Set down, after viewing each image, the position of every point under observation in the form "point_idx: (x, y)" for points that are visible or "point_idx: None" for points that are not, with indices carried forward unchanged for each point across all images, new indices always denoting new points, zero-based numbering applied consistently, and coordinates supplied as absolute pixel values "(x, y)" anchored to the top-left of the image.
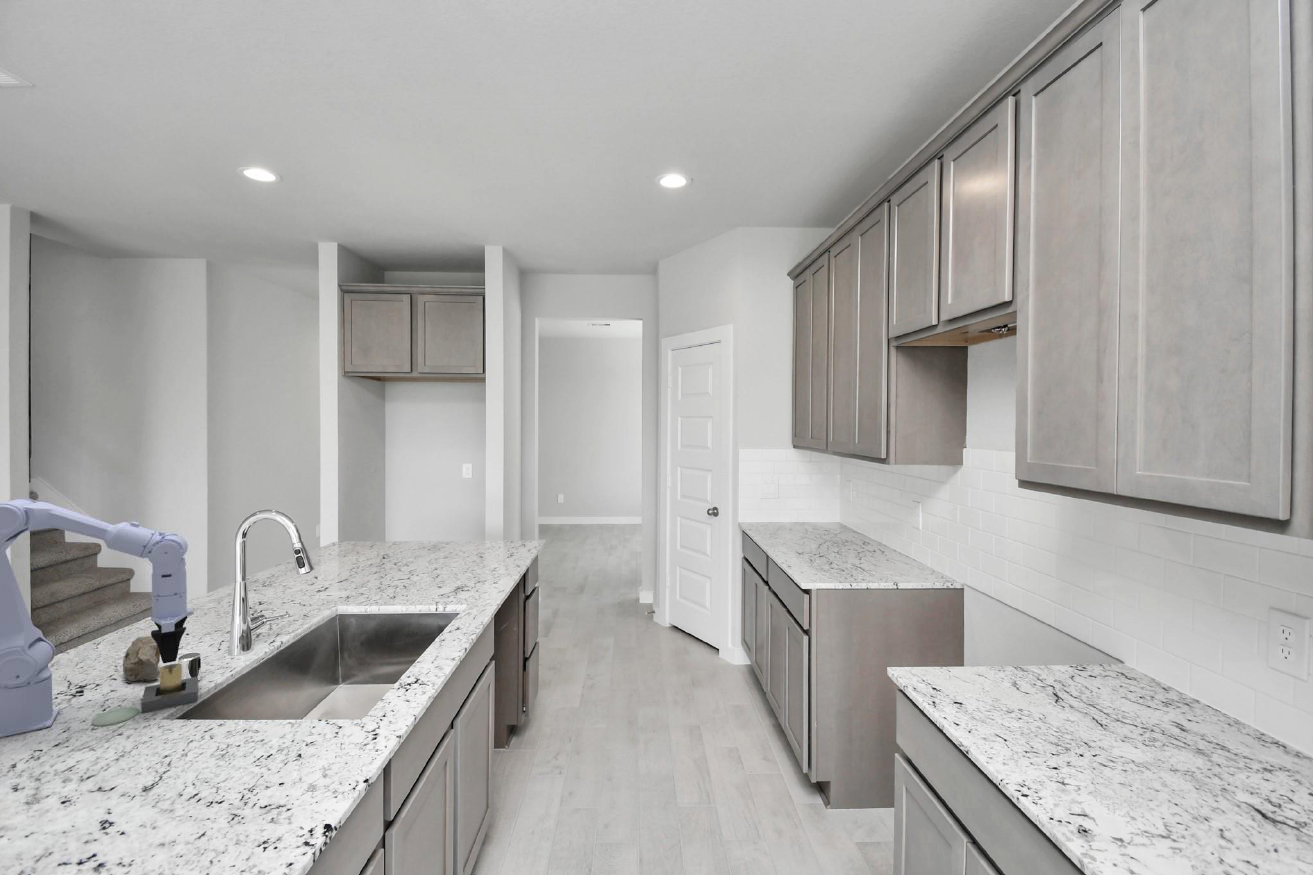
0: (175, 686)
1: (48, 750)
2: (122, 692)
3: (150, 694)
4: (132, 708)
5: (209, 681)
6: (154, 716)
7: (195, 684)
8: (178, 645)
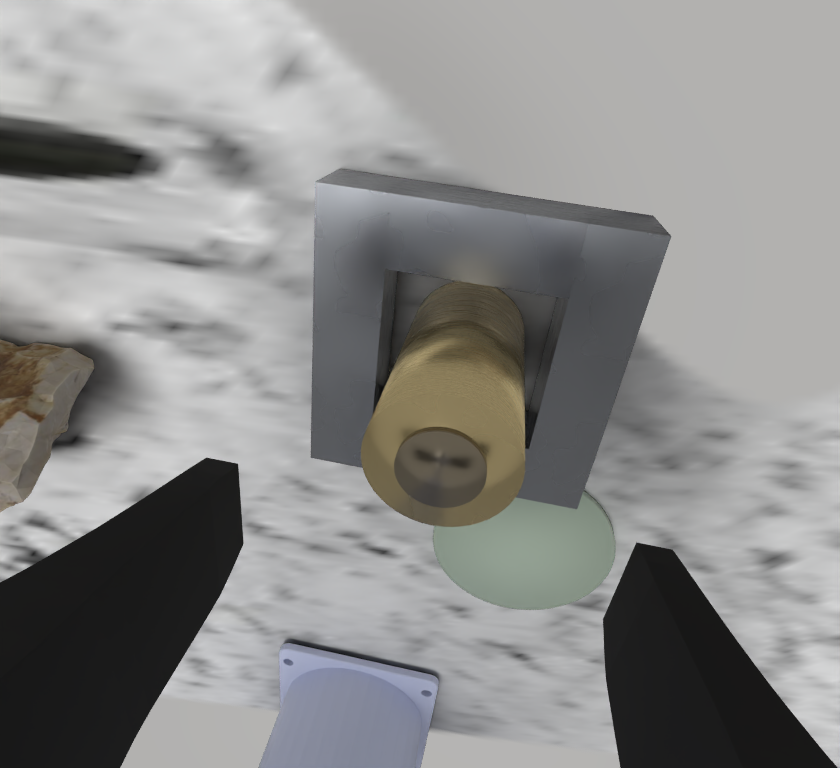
0: (520, 363)
1: None
2: None
3: None
4: None
5: (286, 82)
6: (678, 432)
7: (499, 224)
8: (827, 760)
